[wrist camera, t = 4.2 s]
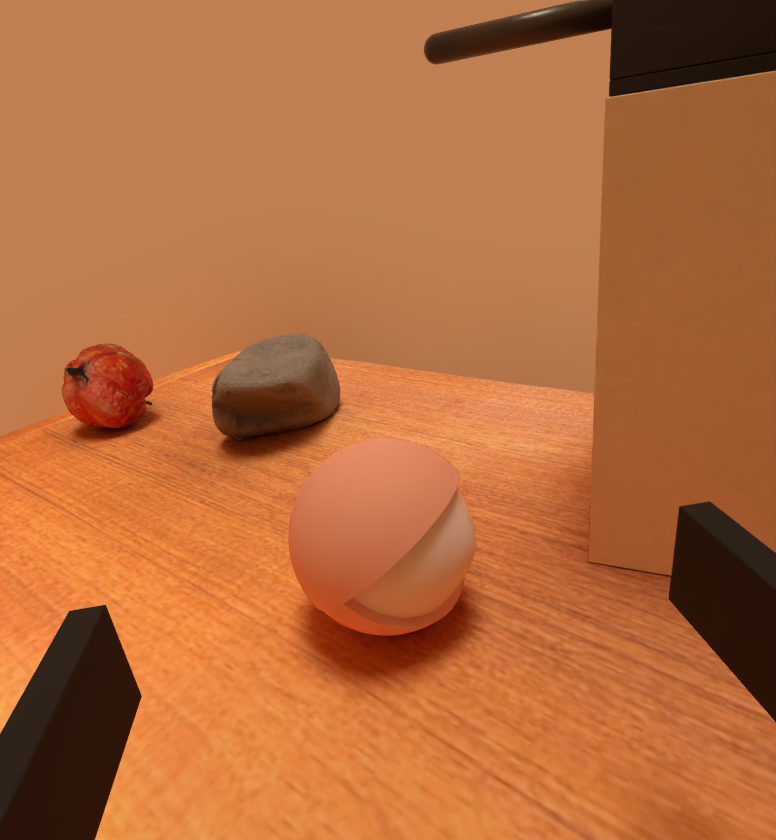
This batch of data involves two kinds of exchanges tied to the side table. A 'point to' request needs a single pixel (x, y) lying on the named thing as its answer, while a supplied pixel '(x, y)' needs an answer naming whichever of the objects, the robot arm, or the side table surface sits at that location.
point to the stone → (275, 387)
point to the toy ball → (382, 536)
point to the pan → (637, 38)
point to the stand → (685, 317)
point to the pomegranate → (107, 387)
